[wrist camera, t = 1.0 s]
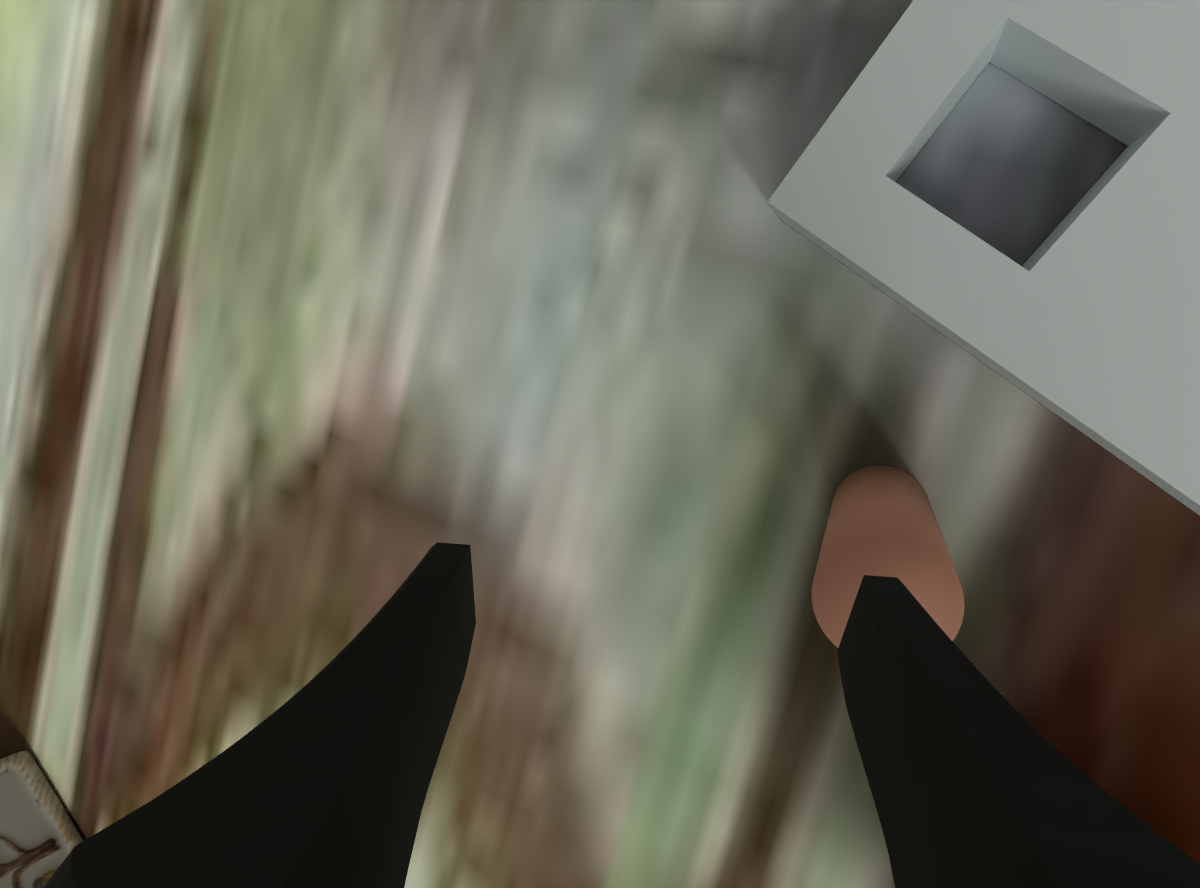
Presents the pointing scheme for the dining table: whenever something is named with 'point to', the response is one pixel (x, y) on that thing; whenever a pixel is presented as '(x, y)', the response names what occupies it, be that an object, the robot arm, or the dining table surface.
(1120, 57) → the hole block
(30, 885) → the decorative jar
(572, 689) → the dining table surface
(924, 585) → the peg
